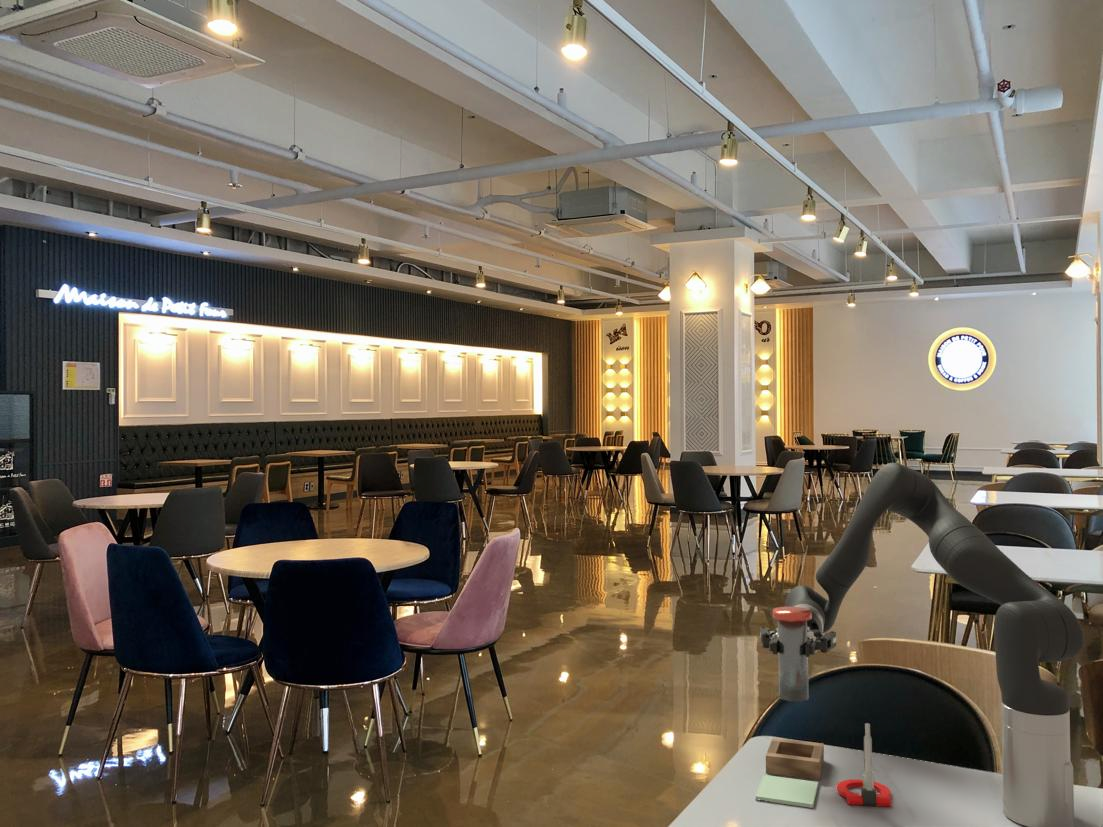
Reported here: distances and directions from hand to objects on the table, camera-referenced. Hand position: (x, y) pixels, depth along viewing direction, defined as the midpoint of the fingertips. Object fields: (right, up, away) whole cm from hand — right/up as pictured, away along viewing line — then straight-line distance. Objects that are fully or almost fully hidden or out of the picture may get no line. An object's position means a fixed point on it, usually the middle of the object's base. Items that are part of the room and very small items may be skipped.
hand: (791, 649), depth 155 cm
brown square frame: (+2, -22, +4) cm, 22 cm away
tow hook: (+10, -22, -8) cm, 25 cm away
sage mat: (-2, -22, -7) cm, 23 cm away
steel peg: (+1, -9, +2) cm, 9 cm away
